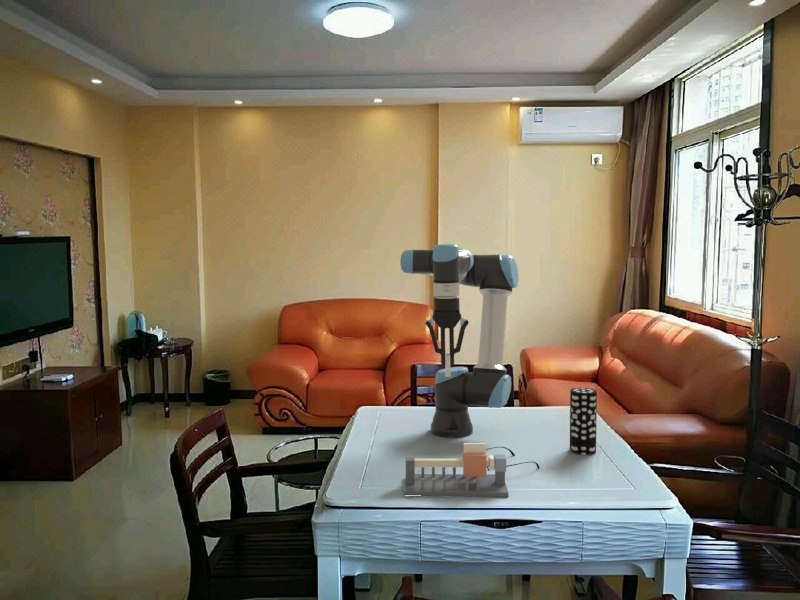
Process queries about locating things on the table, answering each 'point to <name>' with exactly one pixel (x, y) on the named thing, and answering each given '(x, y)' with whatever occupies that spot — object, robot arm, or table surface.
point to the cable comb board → (453, 483)
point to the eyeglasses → (513, 455)
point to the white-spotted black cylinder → (583, 420)
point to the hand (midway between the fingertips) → (447, 375)
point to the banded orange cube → (474, 459)
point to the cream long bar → (493, 462)
